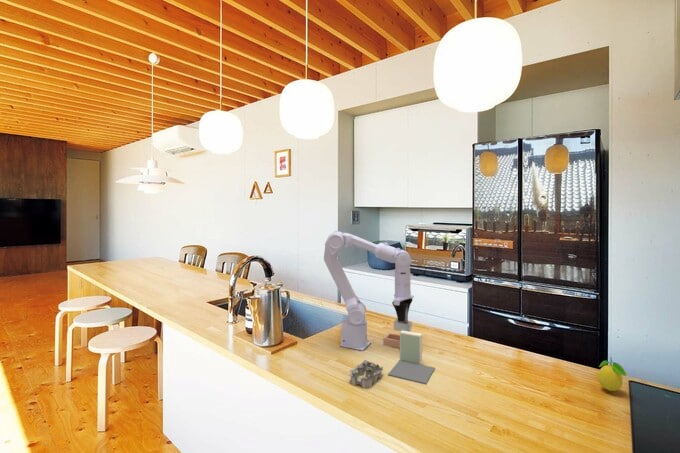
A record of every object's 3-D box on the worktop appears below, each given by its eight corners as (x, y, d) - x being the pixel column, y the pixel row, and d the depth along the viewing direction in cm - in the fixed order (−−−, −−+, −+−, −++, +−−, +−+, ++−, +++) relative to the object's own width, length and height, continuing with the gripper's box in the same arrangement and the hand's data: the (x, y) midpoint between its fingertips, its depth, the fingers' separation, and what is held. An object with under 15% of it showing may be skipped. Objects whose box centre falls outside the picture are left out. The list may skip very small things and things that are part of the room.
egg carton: (367, 391, 102) (367, 377, 102) (346, 383, 107) (346, 370, 106) (385, 375, 111) (385, 363, 111) (365, 369, 115) (365, 357, 115)
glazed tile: (399, 361, 121) (399, 332, 120) (401, 358, 123) (401, 330, 122) (419, 365, 117) (420, 336, 116) (421, 362, 119) (422, 333, 118)
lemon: (625, 400, 96) (627, 364, 95) (598, 394, 99) (600, 359, 98) (621, 389, 101) (623, 355, 101) (596, 383, 104) (598, 350, 104)
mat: (387, 375, 111) (387, 374, 111) (399, 361, 120) (399, 360, 120) (426, 384, 105) (426, 383, 105) (434, 368, 115) (434, 367, 115)
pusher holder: (406, 349, 130) (406, 342, 130) (383, 344, 134) (383, 338, 134) (411, 343, 135) (411, 336, 135) (388, 339, 140) (388, 332, 139)
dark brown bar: (409, 332, 129) (409, 305, 128) (393, 329, 132) (393, 303, 131) (411, 329, 132) (411, 303, 131) (396, 327, 135) (396, 301, 134)
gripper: (407, 288, 122) (407, 327, 123) (418, 280, 135) (418, 315, 136) (387, 286, 126) (388, 324, 127) (400, 278, 138) (400, 312, 139)
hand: (402, 319), depth 132 cm, fingers closed on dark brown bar, 3 cm apart
